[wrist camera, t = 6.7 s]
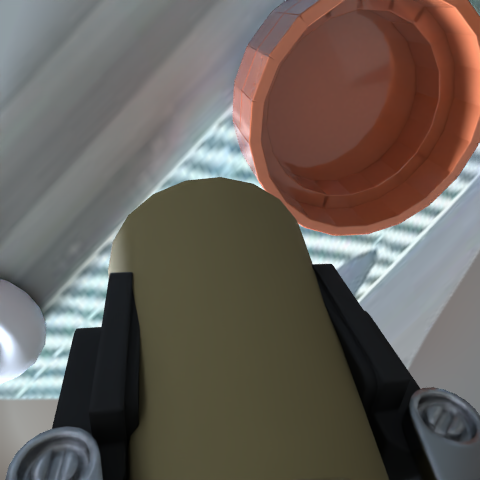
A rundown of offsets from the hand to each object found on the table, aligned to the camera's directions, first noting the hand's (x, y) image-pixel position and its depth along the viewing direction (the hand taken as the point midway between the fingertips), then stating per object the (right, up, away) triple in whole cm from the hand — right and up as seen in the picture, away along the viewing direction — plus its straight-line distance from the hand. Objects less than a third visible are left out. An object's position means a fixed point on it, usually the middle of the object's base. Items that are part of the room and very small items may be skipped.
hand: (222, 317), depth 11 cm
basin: (+7, +12, +18) cm, 22 cm away
